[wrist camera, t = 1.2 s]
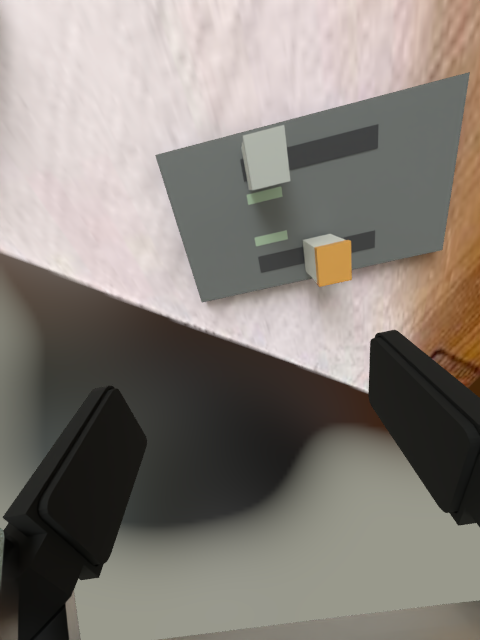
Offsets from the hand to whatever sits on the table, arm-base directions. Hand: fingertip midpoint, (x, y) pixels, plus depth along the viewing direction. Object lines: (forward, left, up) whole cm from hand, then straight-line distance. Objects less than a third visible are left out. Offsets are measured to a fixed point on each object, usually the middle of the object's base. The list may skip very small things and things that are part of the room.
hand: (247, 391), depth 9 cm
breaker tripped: (-8, 0, -17) cm, 18 cm away
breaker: (-4, -8, -16) cm, 19 cm away
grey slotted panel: (-8, -4, -18) cm, 20 cm away
